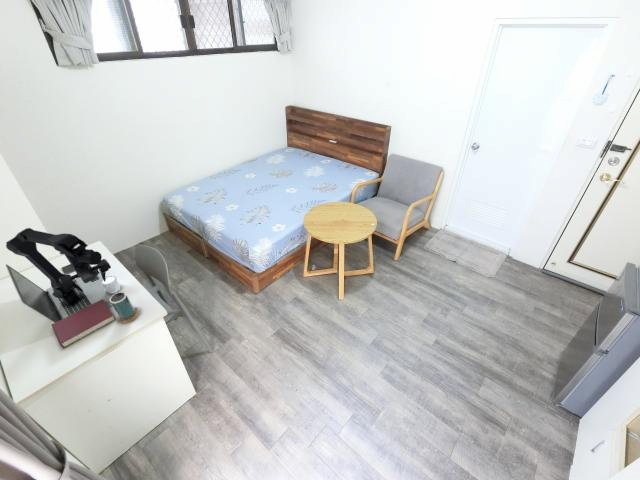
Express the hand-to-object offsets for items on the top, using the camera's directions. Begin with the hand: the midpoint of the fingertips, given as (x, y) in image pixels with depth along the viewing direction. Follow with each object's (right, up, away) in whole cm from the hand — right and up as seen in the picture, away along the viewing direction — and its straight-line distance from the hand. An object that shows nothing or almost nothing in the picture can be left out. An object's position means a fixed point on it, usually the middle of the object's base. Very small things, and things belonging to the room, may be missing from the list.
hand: (94, 286), depth 142 cm
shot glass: (-1, -4, +16) cm, 16 cm away
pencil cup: (+12, -11, +3) cm, 16 cm away
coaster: (+15, -14, +2) cm, 21 cm away
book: (-2, -17, -2) cm, 18 cm away
